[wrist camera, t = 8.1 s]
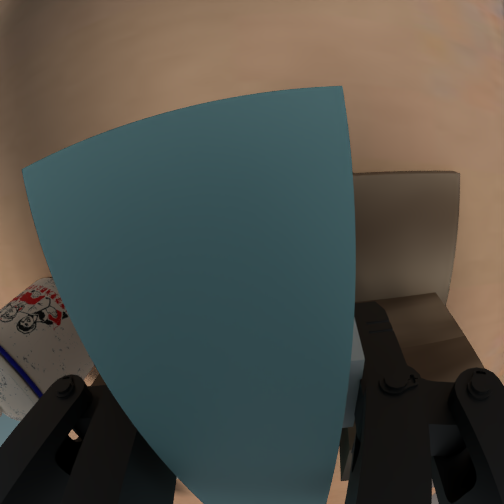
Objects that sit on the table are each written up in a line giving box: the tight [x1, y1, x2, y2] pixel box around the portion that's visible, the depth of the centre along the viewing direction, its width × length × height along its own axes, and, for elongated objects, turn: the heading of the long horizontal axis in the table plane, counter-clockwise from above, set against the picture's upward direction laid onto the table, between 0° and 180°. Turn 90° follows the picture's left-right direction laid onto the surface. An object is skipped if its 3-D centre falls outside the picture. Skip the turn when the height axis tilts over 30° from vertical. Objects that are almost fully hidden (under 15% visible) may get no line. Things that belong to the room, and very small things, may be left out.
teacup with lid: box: [0, 278, 94, 421], centre depth 16 cm, size 12×9×12 cm
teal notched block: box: [22, 86, 356, 504], centre depth 9 cm, size 16×3×9 cm, turn 8°
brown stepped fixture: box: [91, 171, 485, 481], centre depth 13 cm, size 17×20×10 cm
